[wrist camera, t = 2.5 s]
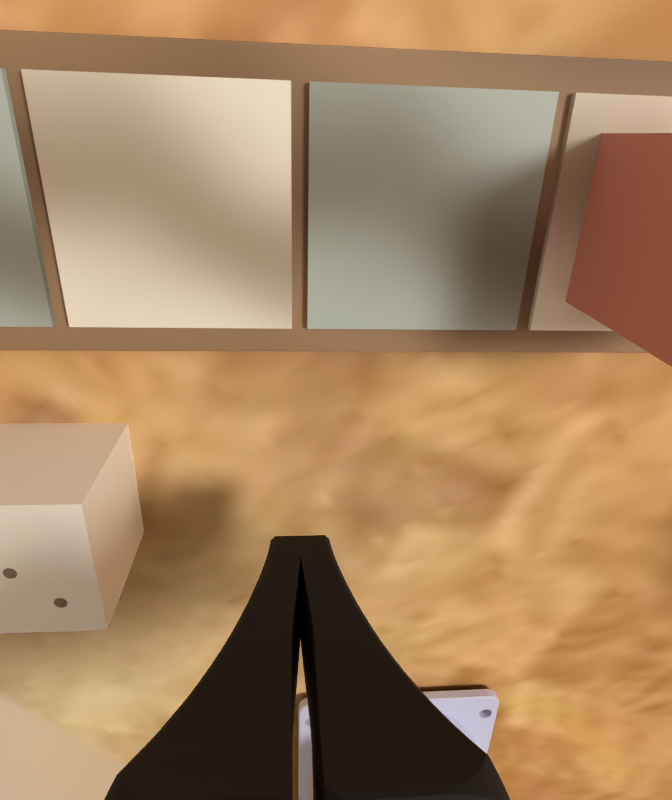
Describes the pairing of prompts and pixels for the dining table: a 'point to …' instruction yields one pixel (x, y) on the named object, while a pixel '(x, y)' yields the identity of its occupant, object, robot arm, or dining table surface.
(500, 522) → the dining table surface
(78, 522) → the die
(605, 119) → the track
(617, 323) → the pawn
